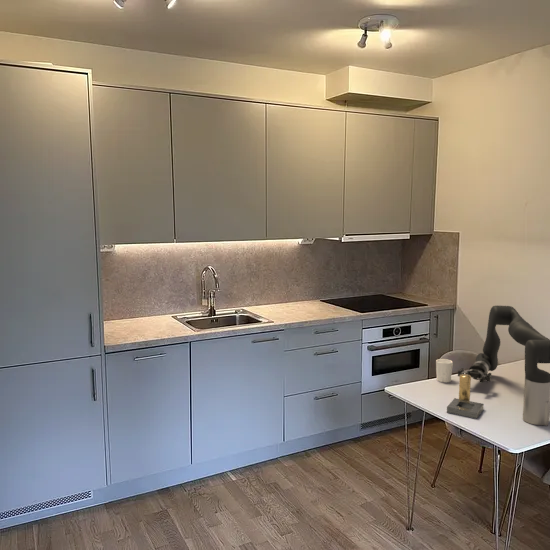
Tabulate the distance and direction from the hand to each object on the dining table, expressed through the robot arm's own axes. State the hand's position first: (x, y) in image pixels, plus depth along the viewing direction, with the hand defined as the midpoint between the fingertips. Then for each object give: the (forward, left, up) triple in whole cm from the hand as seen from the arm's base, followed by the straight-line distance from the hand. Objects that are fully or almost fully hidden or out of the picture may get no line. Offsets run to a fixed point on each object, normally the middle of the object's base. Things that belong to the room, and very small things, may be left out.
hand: (470, 378), depth 230 cm
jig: (-3, +21, -8) cm, 23 cm away
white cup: (+16, -14, -8) cm, 22 cm away
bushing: (0, +11, -8) cm, 13 cm away
